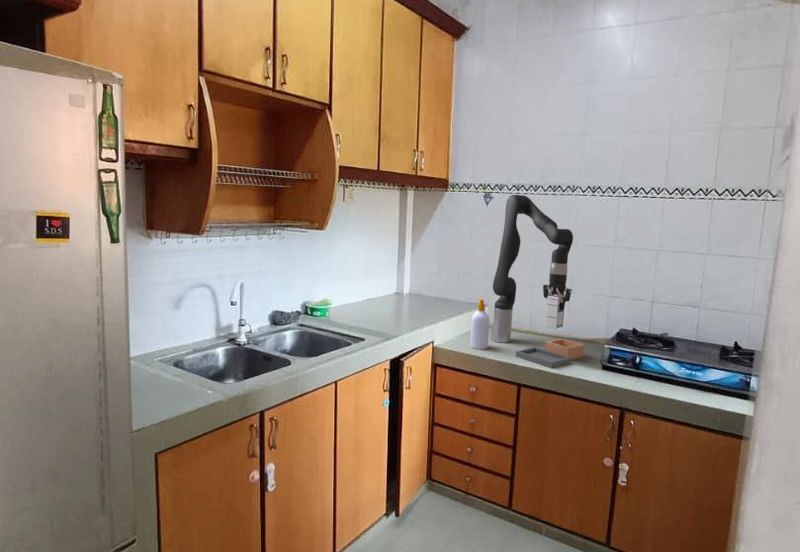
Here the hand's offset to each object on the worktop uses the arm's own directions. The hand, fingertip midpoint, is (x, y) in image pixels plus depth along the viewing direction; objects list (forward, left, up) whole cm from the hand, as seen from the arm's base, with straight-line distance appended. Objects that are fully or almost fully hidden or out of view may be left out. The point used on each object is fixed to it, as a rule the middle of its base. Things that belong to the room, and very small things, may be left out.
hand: (555, 308), depth 240 cm
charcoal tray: (0, -6, -23) cm, 24 cm away
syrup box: (0, 0, -9) cm, 9 cm away
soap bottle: (-31, -16, -24) cm, 42 cm away
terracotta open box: (+1, +9, -23) cm, 25 cm away
